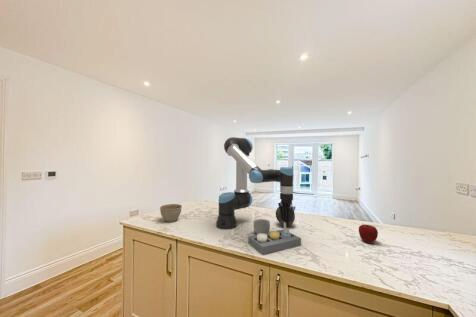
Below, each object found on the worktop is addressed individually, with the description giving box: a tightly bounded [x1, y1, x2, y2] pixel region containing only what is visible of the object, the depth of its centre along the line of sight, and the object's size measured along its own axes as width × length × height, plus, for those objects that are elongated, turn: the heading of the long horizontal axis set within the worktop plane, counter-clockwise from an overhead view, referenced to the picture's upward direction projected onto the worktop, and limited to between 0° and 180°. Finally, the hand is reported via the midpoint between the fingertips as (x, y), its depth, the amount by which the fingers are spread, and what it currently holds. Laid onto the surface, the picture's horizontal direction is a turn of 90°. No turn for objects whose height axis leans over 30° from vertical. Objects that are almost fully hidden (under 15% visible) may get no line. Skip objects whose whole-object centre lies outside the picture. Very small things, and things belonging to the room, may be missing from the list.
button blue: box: [281, 231, 292, 238], centre depth 115 cm, size 6×6×4 cm
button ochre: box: [269, 230, 279, 241], centre depth 112 cm, size 6×6×4 cm
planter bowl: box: [159, 203, 183, 223], centre depth 152 cm, size 16×16×11 cm
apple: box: [358, 224, 379, 244], centre depth 116 cm, size 10×10×10 cm
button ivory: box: [256, 233, 267, 244], centre depth 108 cm, size 6×6×4 cm
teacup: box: [252, 218, 271, 235], centre depth 129 cm, size 14×11×8 cm
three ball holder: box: [247, 229, 302, 256], centre depth 112 cm, size 15×26×4 cm, turn 116°
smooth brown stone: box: [275, 206, 296, 227], centre depth 143 cm, size 14×14×15 cm
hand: (286, 232), depth 115 cm, fingers closed
